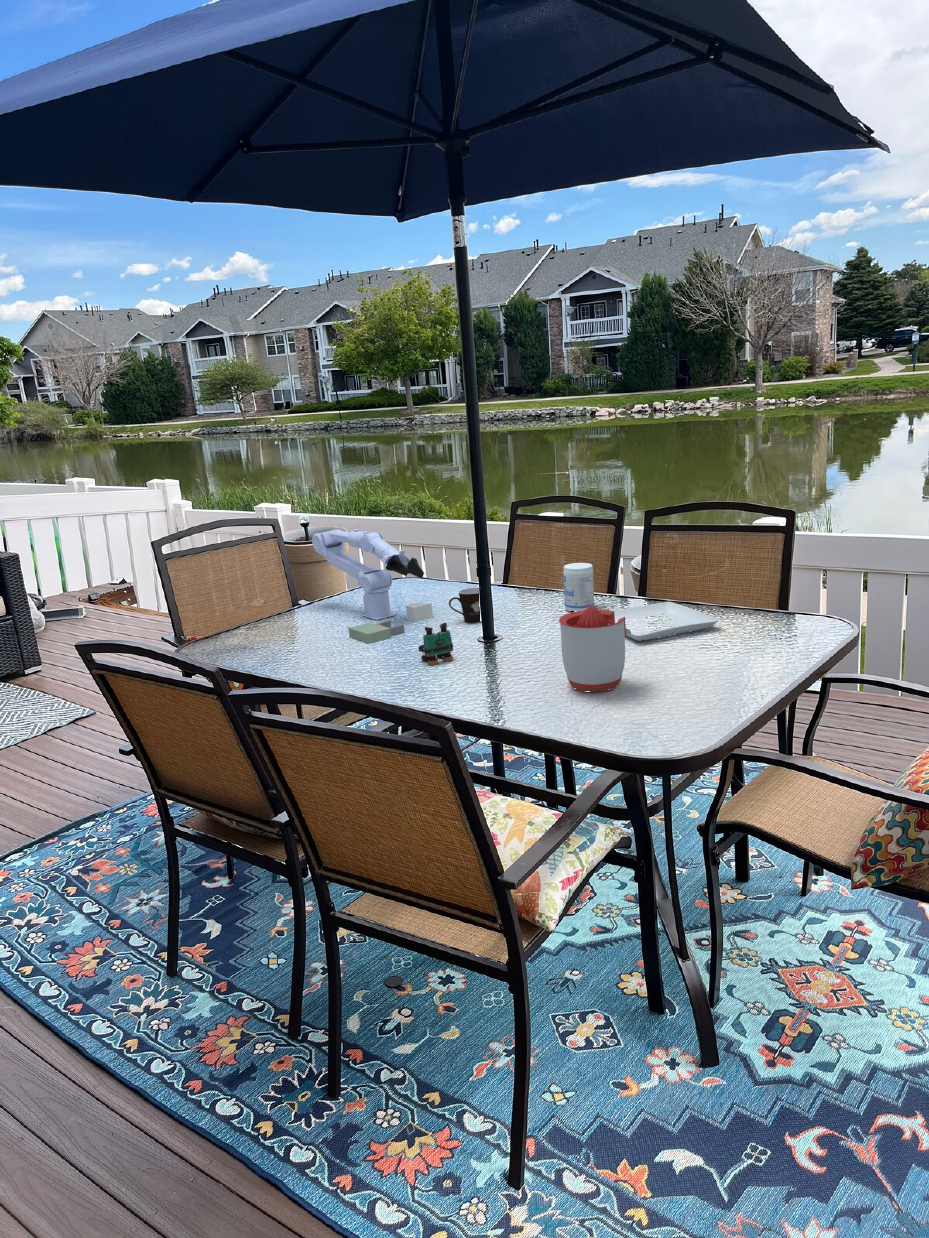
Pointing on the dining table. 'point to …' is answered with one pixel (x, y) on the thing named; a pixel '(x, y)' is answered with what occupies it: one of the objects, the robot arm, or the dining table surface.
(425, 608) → the tall pale grey block
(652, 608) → the square plate
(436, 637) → the binoculars
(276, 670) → the dining table surface
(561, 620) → the citrus juicer
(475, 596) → the coffee mug
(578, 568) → the supplement tub
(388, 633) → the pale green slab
